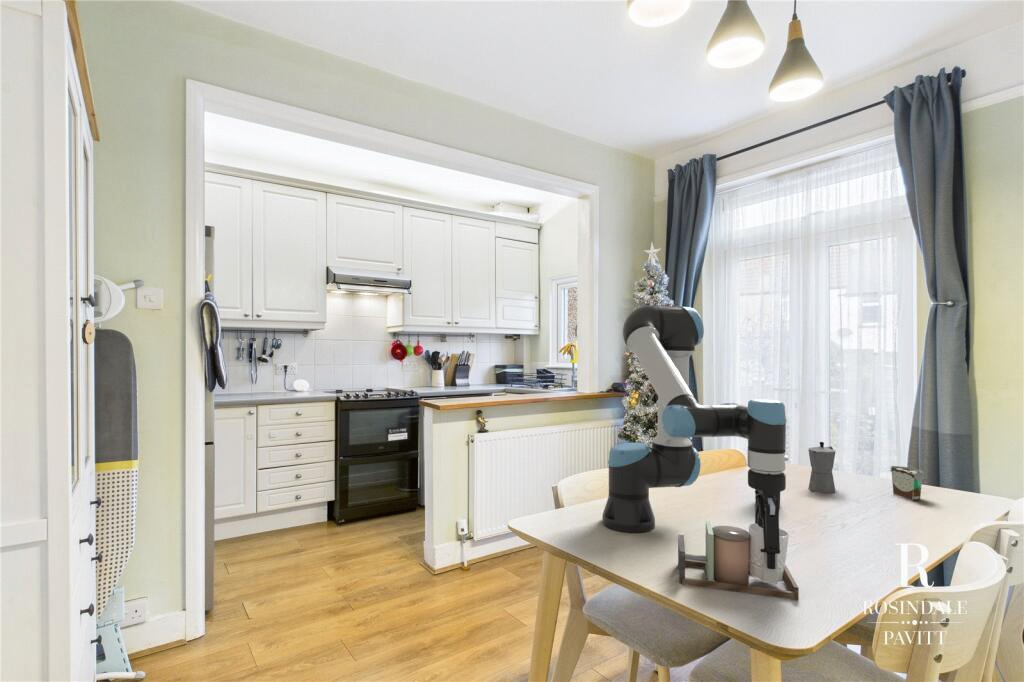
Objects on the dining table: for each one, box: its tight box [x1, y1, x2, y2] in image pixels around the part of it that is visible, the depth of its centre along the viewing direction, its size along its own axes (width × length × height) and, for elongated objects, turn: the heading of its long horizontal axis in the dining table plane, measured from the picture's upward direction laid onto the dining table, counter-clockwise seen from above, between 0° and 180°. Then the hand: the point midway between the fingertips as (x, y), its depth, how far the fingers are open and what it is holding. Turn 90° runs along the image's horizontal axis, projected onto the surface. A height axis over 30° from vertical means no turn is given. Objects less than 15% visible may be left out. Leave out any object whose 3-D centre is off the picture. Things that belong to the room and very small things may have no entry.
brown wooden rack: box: [677, 534, 800, 601], centre depth 115 cm, size 23×12×7 cm, turn 73°
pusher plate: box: [685, 521, 714, 581], centre depth 118 cm, size 7×9×11 cm
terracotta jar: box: [712, 525, 750, 586], centre depth 115 cm, size 8×8×11 cm
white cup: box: [748, 523, 790, 583], centre depth 113 cm, size 8×8×10 cm
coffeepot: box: [808, 441, 837, 494], centre depth 194 cm, size 15×9×18 cm, turn 126°
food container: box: [889, 465, 925, 502], centre depth 184 cm, size 12×6×10 cm, turn 179°
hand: (766, 574), depth 113 cm, fingers closed on white cup, 7 cm apart
